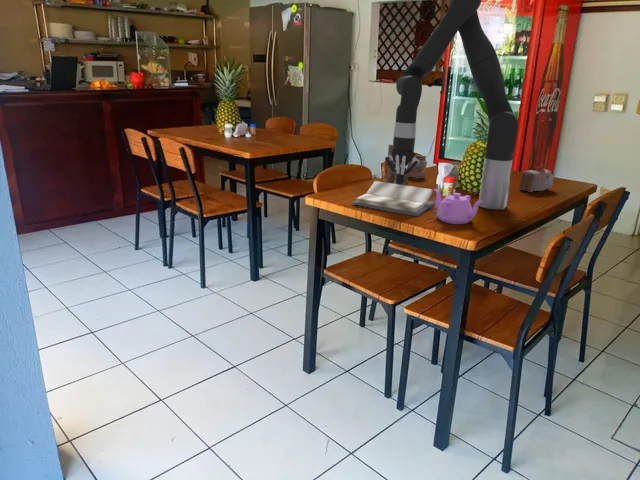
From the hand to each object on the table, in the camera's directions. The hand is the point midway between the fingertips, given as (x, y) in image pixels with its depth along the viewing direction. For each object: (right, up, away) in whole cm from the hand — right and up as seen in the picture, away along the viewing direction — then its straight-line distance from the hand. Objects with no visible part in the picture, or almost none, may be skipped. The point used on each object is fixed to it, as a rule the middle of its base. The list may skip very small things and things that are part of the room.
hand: (400, 184), depth 179 cm
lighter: (+14, +8, +43) cm, 46 cm away
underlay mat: (-3, -8, -2) cm, 8 cm away
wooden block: (+1, -1, +17) cm, 17 cm away
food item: (+60, 0, +27) cm, 66 cm away
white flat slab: (-5, -9, -5) cm, 11 cm away
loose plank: (0, -4, +1) cm, 4 cm away
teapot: (+15, -14, -17) cm, 27 cm away
